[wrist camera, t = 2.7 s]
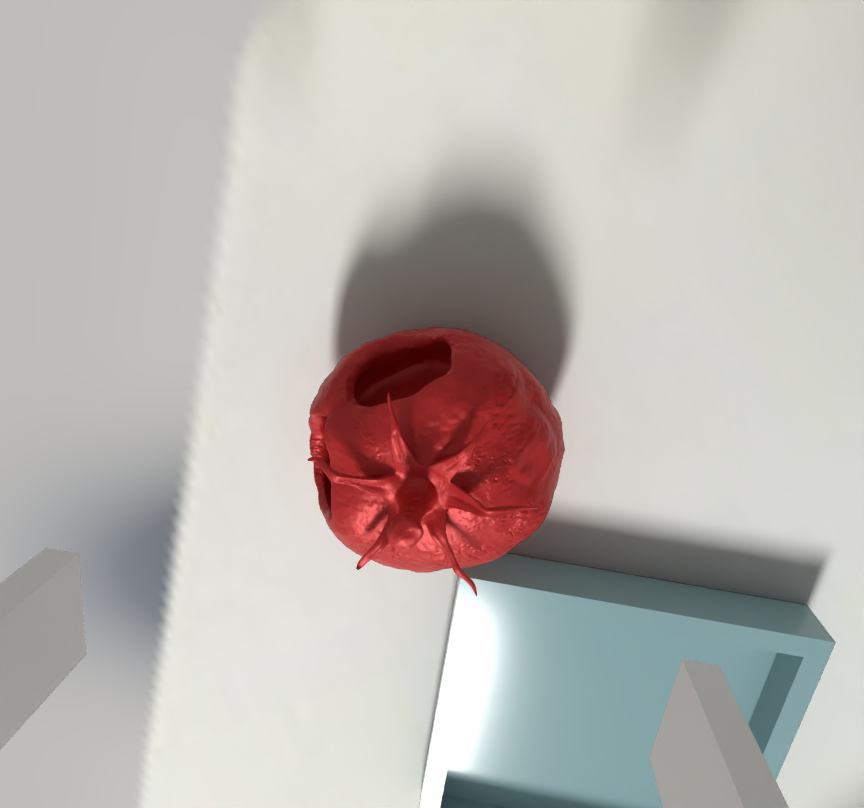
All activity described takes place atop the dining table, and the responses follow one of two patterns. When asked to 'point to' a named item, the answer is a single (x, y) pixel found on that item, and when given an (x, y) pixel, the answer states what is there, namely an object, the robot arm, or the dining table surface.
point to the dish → (599, 681)
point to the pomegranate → (434, 450)
